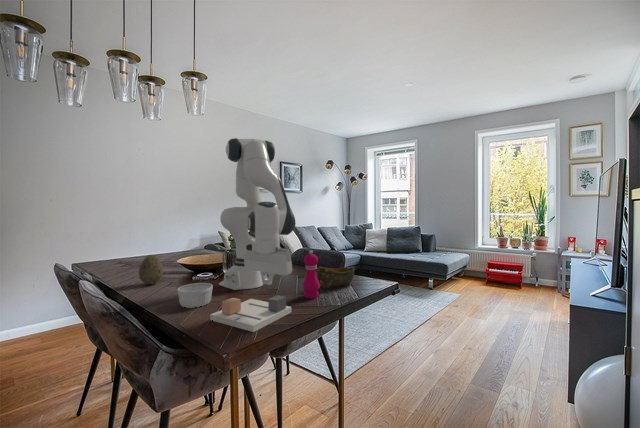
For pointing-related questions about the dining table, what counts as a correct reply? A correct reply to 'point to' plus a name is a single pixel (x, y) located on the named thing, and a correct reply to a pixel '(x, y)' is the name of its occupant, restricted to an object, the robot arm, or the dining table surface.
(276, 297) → the block
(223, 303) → the block
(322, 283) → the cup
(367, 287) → the dining table surface
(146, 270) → the decorative egg
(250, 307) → the fader panel
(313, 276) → the pepper mill
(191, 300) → the ramekin
